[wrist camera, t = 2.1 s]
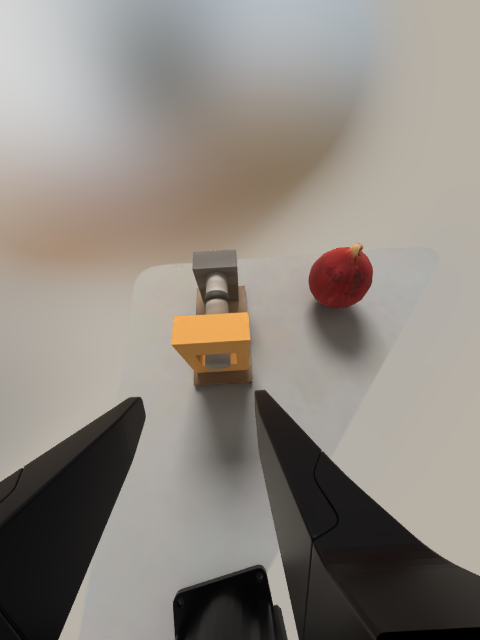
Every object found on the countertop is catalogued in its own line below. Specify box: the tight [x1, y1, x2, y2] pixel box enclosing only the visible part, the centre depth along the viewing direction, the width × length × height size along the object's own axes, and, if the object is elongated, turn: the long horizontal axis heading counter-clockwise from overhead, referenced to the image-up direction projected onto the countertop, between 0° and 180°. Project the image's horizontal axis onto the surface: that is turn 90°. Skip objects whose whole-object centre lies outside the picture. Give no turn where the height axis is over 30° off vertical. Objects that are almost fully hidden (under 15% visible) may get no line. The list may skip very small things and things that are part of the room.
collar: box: [171, 312, 250, 373], centre depth 18 cm, size 2×5×8 cm, turn 93°
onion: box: [309, 243, 373, 308], centre depth 22 cm, size 6×6×8 cm
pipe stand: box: [192, 250, 252, 386], centre depth 21 cm, size 11×6×6 cm, turn 3°
